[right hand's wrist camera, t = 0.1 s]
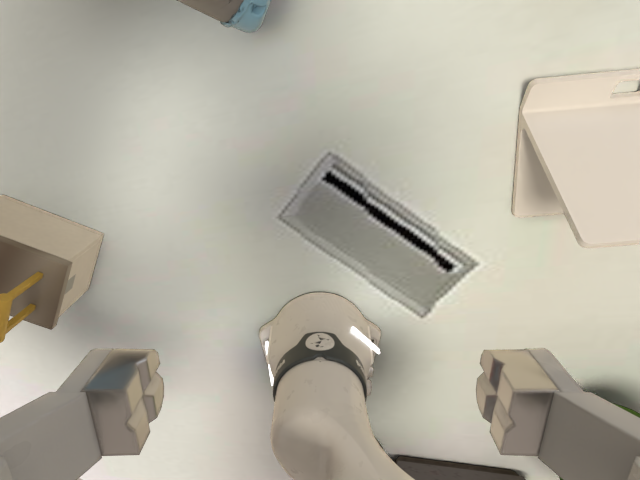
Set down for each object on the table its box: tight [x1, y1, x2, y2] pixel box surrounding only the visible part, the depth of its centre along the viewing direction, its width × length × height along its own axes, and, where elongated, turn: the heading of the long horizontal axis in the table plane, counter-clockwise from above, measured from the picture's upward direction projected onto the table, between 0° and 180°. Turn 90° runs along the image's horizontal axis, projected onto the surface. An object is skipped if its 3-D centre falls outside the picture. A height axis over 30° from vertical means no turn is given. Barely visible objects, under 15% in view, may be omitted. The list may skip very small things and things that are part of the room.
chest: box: [0, 195, 104, 317], centre depth 57 cm, size 14×10×9 cm
